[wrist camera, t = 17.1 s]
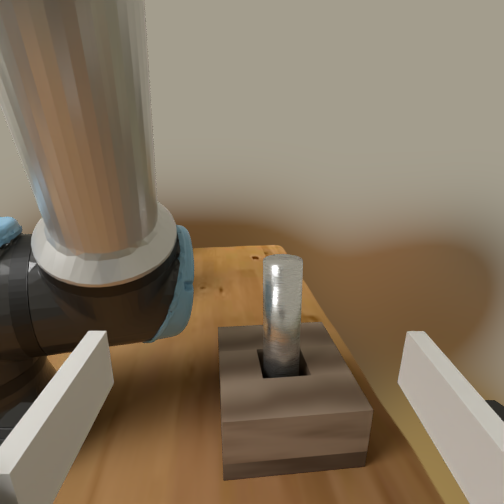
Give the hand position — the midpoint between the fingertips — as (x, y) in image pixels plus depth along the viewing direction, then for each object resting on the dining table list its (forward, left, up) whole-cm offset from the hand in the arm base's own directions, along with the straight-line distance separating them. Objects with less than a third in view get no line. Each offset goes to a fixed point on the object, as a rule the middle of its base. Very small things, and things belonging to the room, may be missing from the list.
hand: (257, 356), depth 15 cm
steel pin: (-13, +15, -20) cm, 28 cm away
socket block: (-13, +16, -22) cm, 30 cm away
